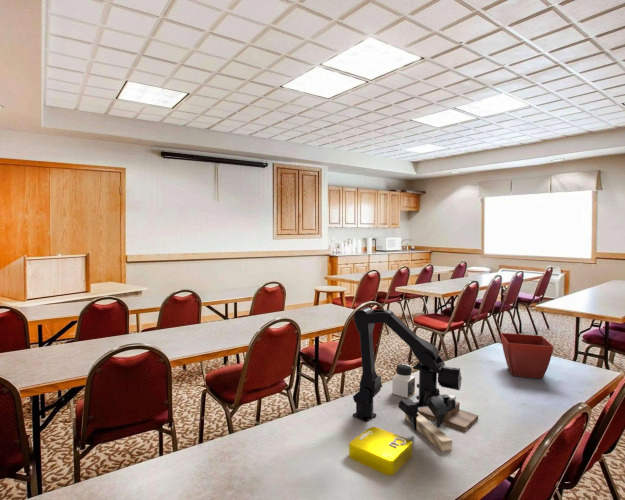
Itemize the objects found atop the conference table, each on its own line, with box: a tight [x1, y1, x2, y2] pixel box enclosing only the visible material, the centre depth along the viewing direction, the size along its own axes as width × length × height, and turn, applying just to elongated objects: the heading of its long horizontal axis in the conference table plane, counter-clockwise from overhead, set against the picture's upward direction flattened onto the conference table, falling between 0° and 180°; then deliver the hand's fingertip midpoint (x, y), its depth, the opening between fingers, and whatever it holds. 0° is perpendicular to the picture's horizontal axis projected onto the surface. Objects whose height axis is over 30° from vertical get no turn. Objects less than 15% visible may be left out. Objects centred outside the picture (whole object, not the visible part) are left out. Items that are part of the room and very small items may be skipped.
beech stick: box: [404, 412, 453, 452], centre depth 129 cm, size 22×4×4 cm, turn 17°
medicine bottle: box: [391, 363, 416, 399], centre depth 160 cm, size 7×7×12 cm
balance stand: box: [418, 394, 479, 432], centre depth 140 cm, size 12×18×6 cm, turn 47°
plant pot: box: [500, 332, 554, 380], centre depth 186 cm, size 19×19×17 cm
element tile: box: [348, 426, 413, 476], centre depth 115 cm, size 15×15×5 cm
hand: (426, 429), depth 129 cm, fingers open, 9 cm apart
